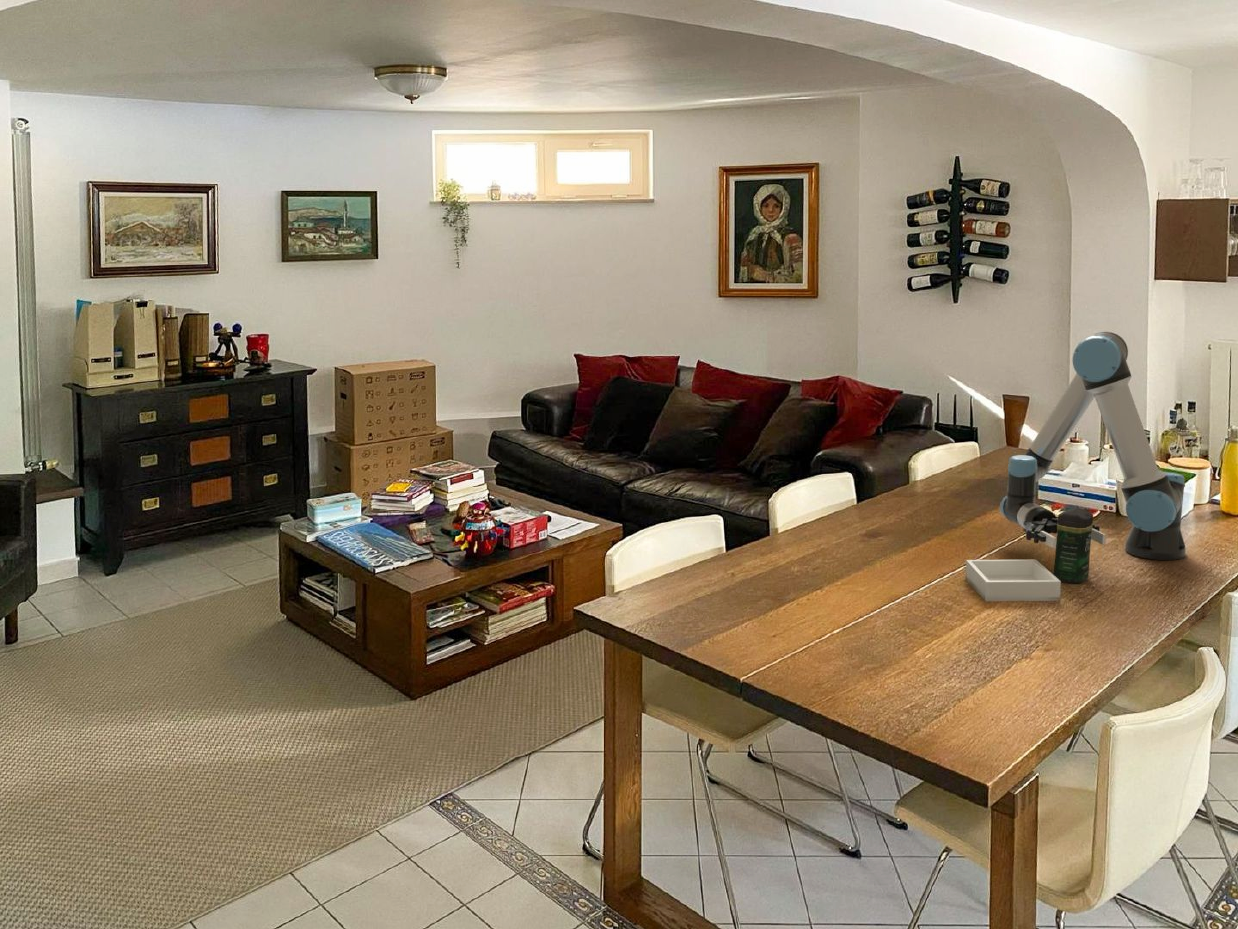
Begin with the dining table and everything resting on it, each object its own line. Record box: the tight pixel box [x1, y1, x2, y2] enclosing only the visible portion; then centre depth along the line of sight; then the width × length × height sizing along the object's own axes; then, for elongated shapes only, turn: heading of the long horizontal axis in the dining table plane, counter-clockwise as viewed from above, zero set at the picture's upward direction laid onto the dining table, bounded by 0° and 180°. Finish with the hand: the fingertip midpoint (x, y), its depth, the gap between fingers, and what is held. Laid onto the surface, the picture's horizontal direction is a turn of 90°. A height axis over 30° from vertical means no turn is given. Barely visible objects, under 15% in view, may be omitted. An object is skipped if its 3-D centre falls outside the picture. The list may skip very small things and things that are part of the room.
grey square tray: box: [964, 559, 1062, 602], centre depth 272 cm, size 18×18×5 cm
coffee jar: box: [1052, 507, 1094, 584], centre depth 277 cm, size 10×8×19 cm
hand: (1079, 541), depth 274 cm, fingers open, 13 cm apart
